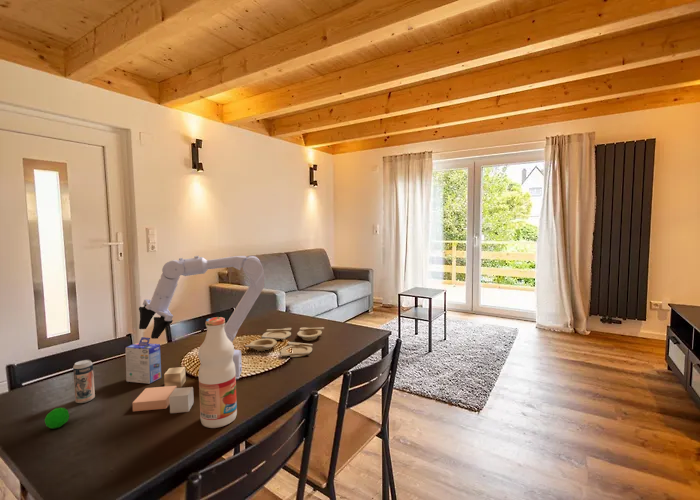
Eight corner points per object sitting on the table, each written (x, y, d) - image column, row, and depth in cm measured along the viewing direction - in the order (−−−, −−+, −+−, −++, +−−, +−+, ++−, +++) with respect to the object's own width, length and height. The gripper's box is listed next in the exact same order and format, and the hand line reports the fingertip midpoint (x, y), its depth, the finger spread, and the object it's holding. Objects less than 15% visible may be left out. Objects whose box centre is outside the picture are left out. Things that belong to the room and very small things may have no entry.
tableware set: (269, 331, 173) (269, 323, 173) (326, 333, 169) (326, 325, 168) (237, 357, 138) (237, 347, 138) (307, 360, 134) (307, 350, 134)
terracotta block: (176, 394, 108) (176, 385, 108) (166, 409, 99) (165, 399, 99) (146, 397, 107) (145, 388, 107) (133, 412, 98) (132, 402, 98)
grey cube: (193, 402, 102) (193, 386, 102) (188, 411, 98) (187, 395, 97) (176, 404, 102) (175, 388, 101) (170, 413, 97) (169, 396, 96)
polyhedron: (42, 434, 88) (40, 416, 87) (49, 423, 92) (48, 406, 92) (66, 429, 90) (64, 411, 89) (72, 419, 94) (71, 402, 94)
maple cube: (185, 381, 117) (185, 366, 117) (181, 387, 112) (180, 373, 112) (170, 382, 116) (169, 368, 116) (164, 389, 111) (164, 374, 111)
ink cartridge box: (162, 377, 120) (160, 337, 119) (150, 384, 114) (148, 342, 113) (138, 375, 122) (136, 335, 121) (125, 382, 116) (123, 340, 115)
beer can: (73, 405, 101) (70, 366, 100) (77, 398, 105) (74, 361, 105) (93, 401, 103) (90, 363, 103) (96, 394, 108) (94, 358, 107)
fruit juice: (204, 412, 97) (200, 315, 95) (238, 407, 99) (235, 313, 97) (197, 431, 88) (192, 325, 86) (235, 426, 90) (231, 322, 88)
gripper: (140, 286, 113) (125, 324, 113) (164, 301, 106) (148, 342, 105) (160, 288, 119) (146, 325, 119) (184, 303, 112) (168, 342, 111)
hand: (148, 333), depth 112 cm, fingers open, 7 cm apart
